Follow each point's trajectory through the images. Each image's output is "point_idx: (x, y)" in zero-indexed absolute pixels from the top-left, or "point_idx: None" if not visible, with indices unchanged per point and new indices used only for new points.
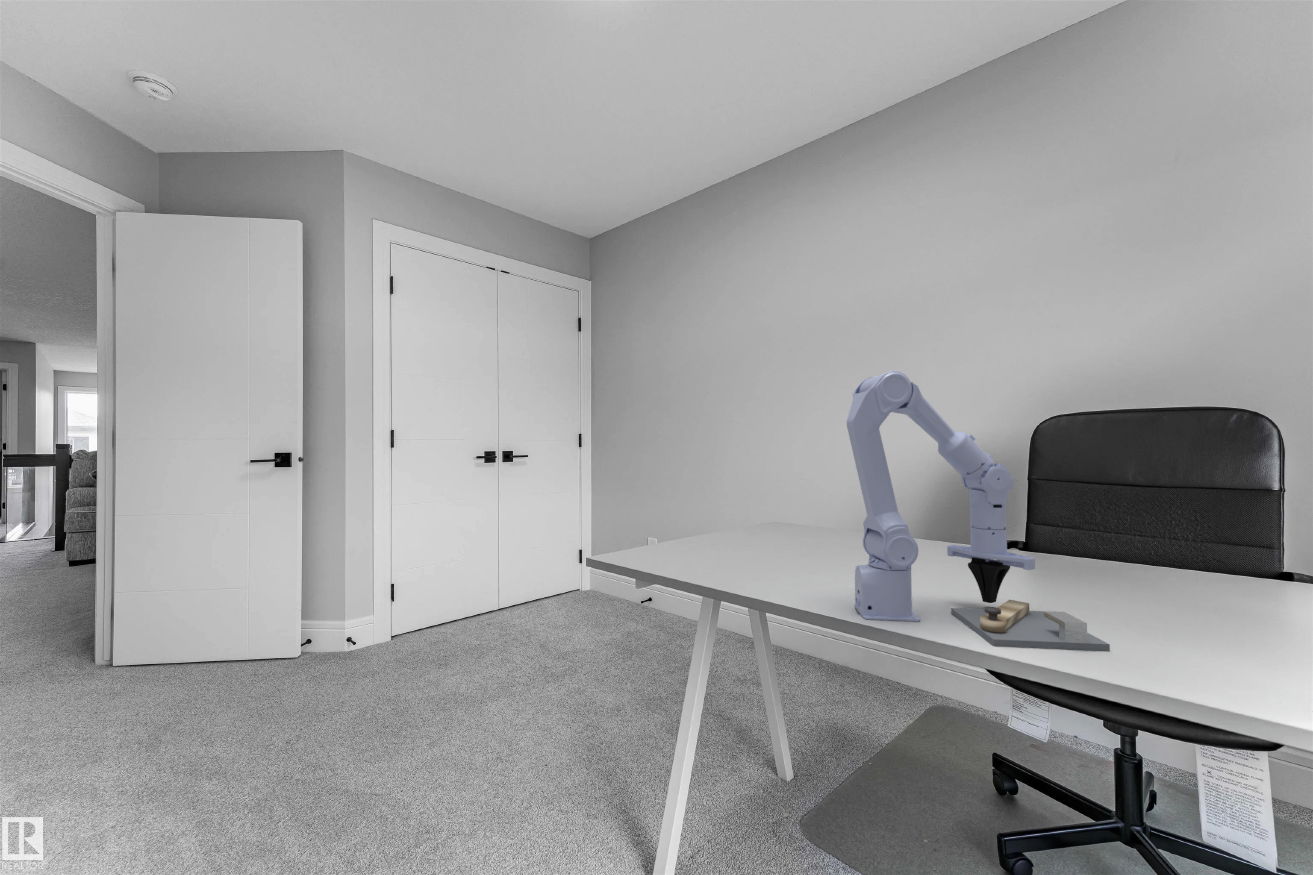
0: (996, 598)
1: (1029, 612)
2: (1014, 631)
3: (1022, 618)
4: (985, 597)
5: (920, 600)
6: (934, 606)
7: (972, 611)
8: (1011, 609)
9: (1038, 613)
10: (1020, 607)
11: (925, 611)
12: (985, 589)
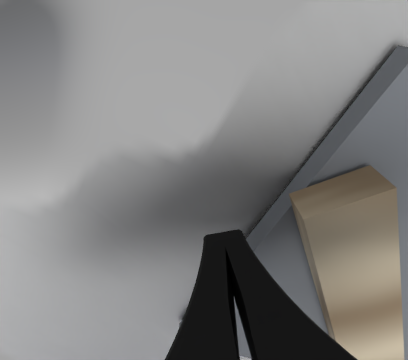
0: (245, 239)
1: (365, 159)
2: (403, 338)
3: None
4: (233, 293)
5: (3, 306)
6: (87, 310)
7: (237, 317)
8: (376, 311)
9: (398, 132)
10: (392, 272)
11: (130, 351)
12: (245, 335)
